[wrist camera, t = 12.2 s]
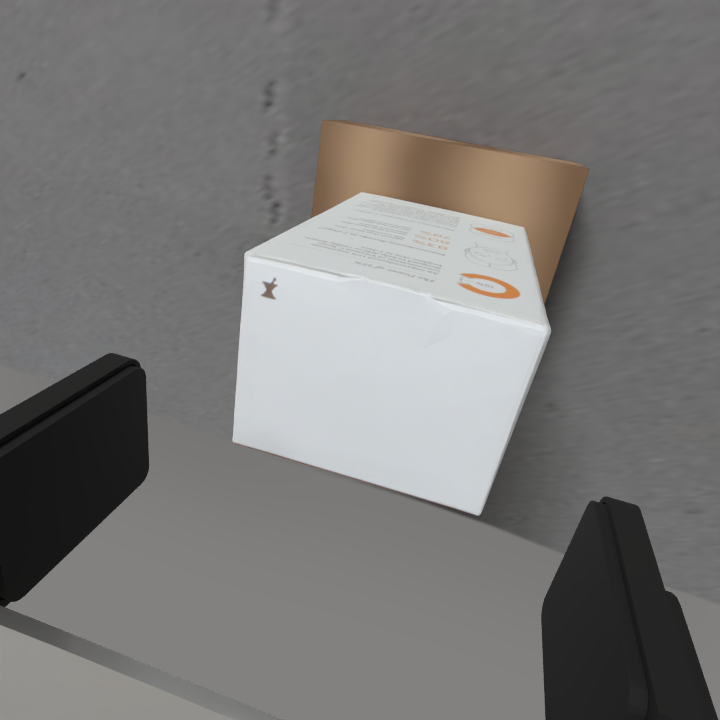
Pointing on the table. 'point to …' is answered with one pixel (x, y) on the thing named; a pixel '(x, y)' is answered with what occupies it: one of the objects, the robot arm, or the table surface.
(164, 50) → the table surface
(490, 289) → the small box
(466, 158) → the walnut base
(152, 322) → the table surface
